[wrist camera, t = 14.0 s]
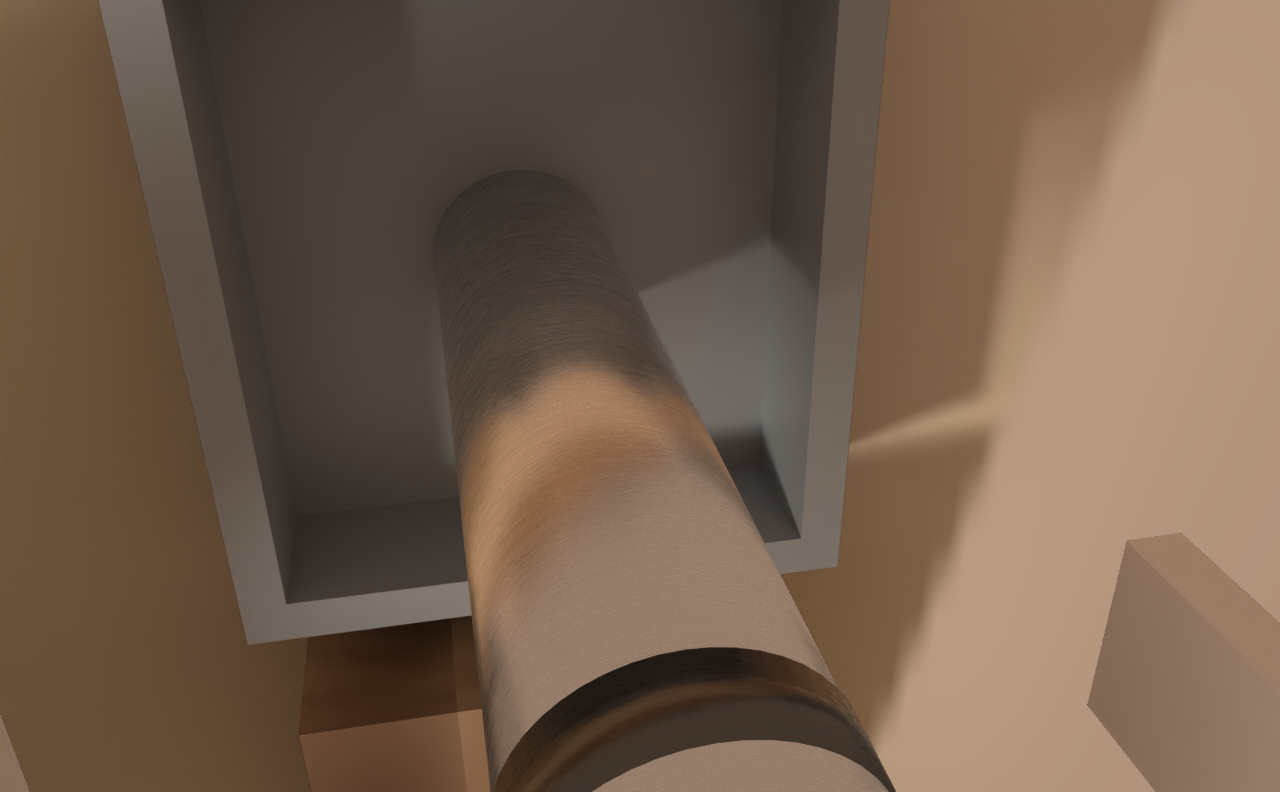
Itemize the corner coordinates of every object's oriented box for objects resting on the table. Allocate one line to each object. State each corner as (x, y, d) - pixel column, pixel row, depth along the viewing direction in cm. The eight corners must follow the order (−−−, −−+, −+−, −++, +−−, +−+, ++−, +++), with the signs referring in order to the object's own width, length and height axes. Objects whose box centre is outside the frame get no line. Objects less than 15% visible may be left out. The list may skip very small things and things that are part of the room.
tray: (266, 531, 29) (247, 645, 25) (136, -95, 22) (81, -70, 18) (782, 470, 31) (837, 566, 28) (817, -115, 24) (898, -96, 20)
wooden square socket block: (370, 873, 36) (367, 1056, 31) (314, 572, 30) (299, 735, 25) (733, 812, 38) (788, 974, 33) (746, 519, 32) (814, 659, 27)
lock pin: (440, 342, 27) (520, 1121, 11) (422, 173, 25) (488, 833, 9) (611, 326, 27) (913, 1039, 12) (606, 161, 25) (961, 752, 10)
